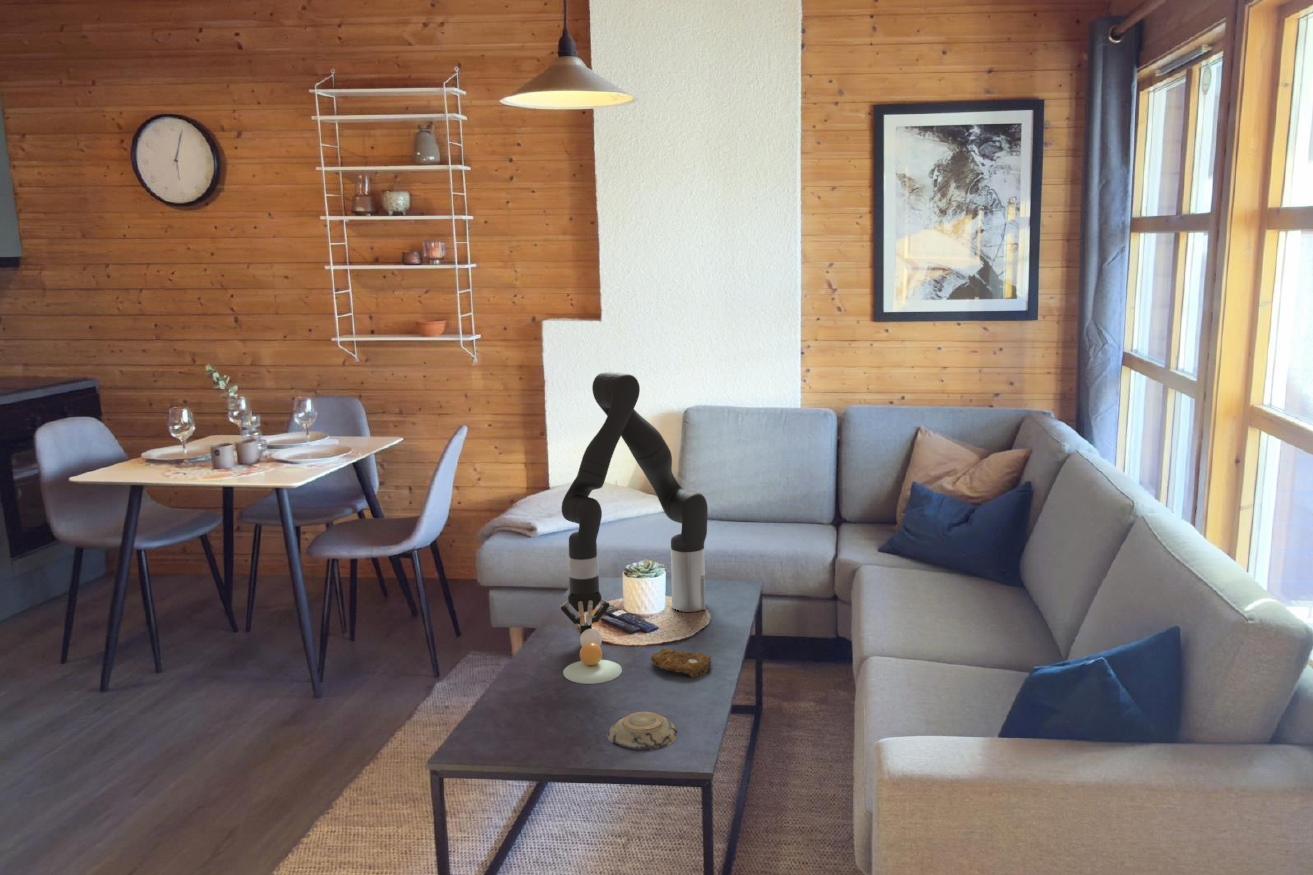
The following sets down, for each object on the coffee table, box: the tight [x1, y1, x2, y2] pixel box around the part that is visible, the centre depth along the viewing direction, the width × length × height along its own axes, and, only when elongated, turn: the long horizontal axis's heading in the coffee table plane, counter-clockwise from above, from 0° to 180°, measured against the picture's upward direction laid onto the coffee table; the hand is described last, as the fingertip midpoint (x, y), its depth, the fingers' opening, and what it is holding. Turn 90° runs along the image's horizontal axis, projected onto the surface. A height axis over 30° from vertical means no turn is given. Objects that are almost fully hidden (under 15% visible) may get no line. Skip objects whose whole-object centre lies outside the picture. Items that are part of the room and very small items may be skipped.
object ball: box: [579, 643, 603, 666], centre depth 255 cm, size 6×6×6 cm
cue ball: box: [579, 628, 603, 648], centre depth 264 cm, size 6×6×6 cm
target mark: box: [562, 659, 623, 685], centre depth 251 cm, size 14×14×1 cm
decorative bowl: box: [606, 711, 678, 752], centre depth 219 cm, size 15×4×15 cm
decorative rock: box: [649, 648, 712, 679], centre depth 252 cm, size 11×4×15 cm
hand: (586, 637), depth 269 cm, fingers closed
